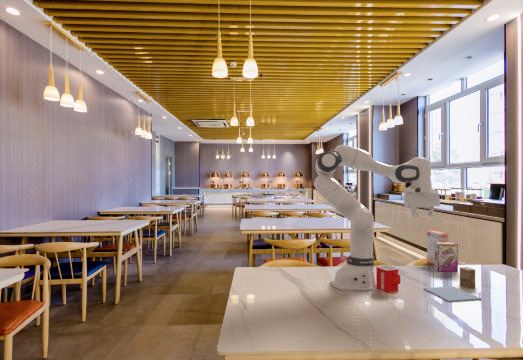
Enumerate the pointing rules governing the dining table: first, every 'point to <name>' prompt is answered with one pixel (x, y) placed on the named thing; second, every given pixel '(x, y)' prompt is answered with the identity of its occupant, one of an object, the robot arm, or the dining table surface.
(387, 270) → the mug
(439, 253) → the candy bar box
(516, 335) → the dining table surface
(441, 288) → the rubber mat
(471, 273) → the walnut block
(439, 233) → the cracker box
